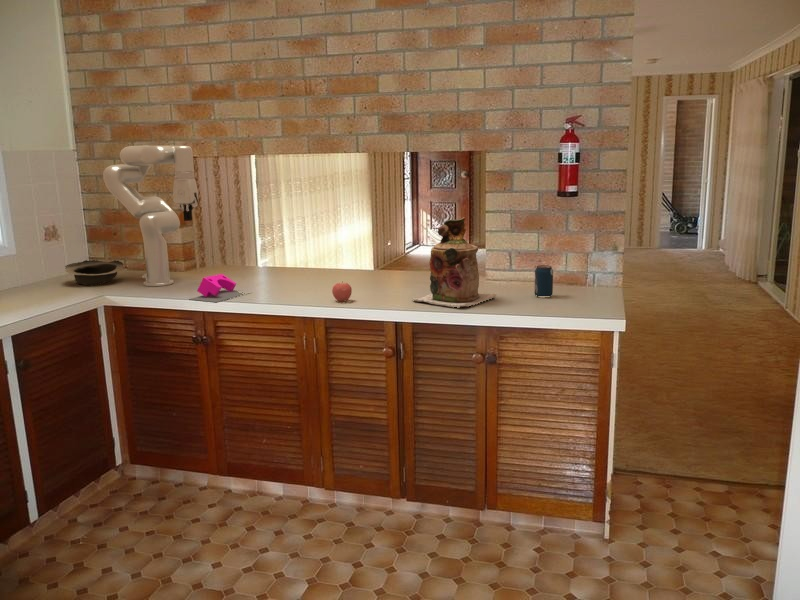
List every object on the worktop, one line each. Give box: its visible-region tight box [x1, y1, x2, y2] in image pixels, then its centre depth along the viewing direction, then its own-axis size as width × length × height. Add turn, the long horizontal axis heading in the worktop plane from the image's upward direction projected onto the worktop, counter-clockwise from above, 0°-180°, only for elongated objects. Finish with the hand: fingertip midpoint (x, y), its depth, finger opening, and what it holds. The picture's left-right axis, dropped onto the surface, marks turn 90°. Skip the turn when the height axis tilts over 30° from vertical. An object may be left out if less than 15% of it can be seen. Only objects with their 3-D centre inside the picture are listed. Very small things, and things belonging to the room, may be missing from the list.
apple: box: [331, 280, 353, 302], centre depth 269 cm, size 7×7×8 cm
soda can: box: [533, 264, 554, 297], centre depth 272 cm, size 7×7×12 cm
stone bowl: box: [64, 259, 124, 286], centre depth 317 cm, size 25×25×9 cm
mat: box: [188, 289, 245, 303], centre depth 283 cm, size 14×22×1 cm, turn 153°
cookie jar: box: [411, 217, 498, 309], centre depth 265 cm, size 25×25×32 cm
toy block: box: [196, 273, 237, 297], centre depth 285 cm, size 15×6×8 cm
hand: (188, 220), depth 294 cm, fingers closed
